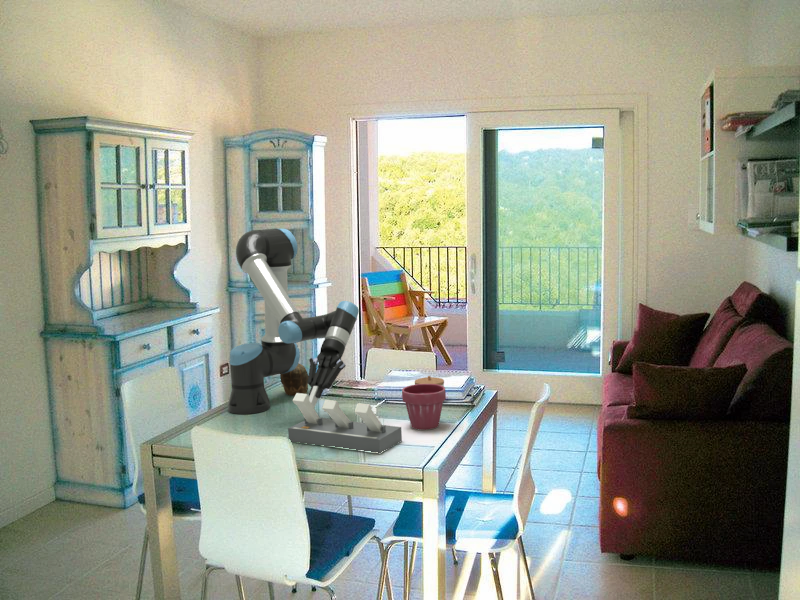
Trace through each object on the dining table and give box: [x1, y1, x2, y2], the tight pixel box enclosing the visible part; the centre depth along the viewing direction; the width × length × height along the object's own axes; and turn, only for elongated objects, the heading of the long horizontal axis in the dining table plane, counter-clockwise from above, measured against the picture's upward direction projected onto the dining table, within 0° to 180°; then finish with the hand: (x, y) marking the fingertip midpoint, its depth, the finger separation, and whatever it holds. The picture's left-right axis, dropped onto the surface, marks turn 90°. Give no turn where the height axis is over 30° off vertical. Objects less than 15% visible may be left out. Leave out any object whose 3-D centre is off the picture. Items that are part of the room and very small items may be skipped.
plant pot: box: [401, 384, 447, 431], centre depth 284 cm, size 14×14×13 cm
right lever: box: [354, 402, 383, 431], centre depth 261 cm, size 3×4×12 cm
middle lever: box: [321, 399, 351, 427], centre depth 267 cm, size 3×4×12 cm
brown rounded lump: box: [279, 363, 309, 397], centre depth 334 cm, size 11×11×12 cm
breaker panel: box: [287, 417, 403, 454], centre depth 271 cm, size 14×33×7 cm, turn 62°
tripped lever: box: [292, 393, 320, 424], centre depth 272 cm, size 3×4×12 cm
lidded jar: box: [414, 375, 445, 387], centre depth 316 cm, size 11×11×9 cm
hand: (310, 405), depth 273 cm, fingers closed
